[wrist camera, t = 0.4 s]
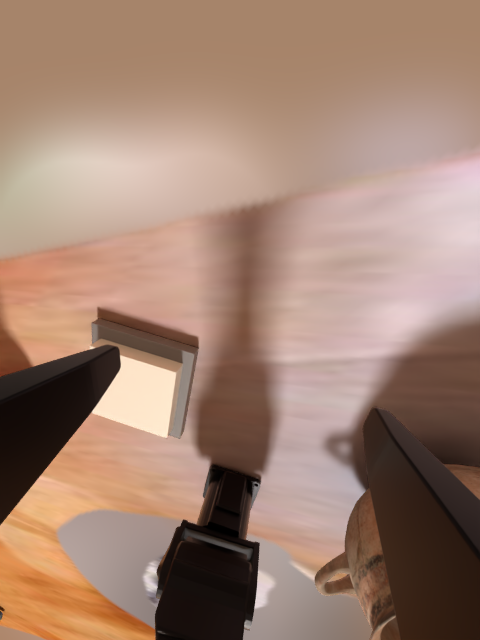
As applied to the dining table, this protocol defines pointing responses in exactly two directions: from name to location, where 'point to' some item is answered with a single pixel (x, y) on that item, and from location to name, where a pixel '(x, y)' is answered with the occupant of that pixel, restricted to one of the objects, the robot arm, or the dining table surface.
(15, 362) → the dining table surface
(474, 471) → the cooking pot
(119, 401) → the grey square coaster
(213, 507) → the robot arm
